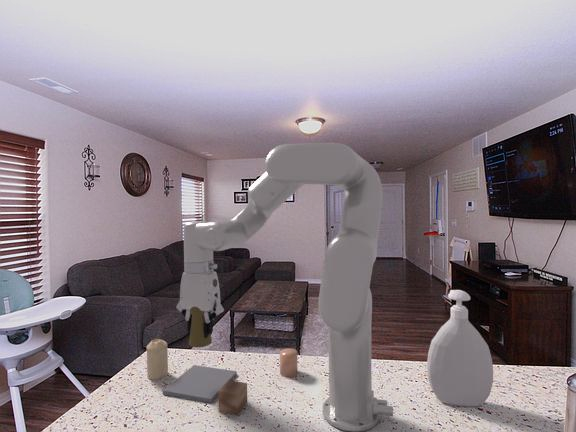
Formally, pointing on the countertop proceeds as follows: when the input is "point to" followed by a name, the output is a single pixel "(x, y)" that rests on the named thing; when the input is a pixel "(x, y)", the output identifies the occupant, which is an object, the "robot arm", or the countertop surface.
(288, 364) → the peach blob
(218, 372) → the slate tile
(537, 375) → the countertop surface
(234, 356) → the countertop surface
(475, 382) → the soap bottle
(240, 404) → the walnut block
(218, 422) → the countertop surface
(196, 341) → the olive tall rounded piece
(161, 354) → the candle
